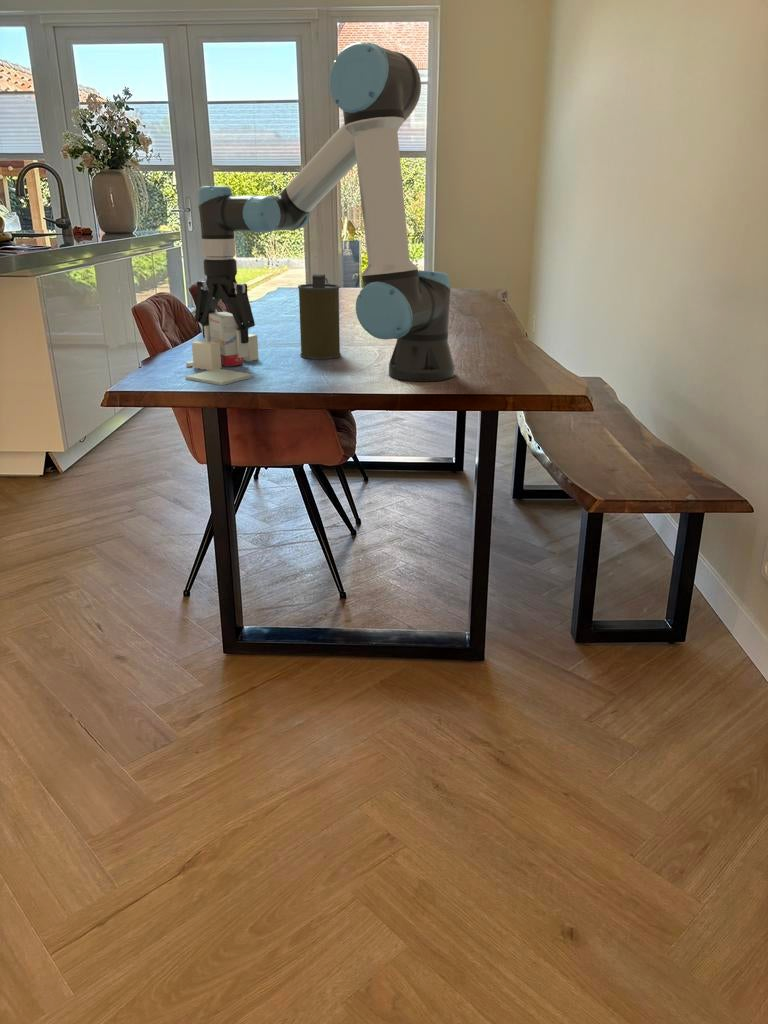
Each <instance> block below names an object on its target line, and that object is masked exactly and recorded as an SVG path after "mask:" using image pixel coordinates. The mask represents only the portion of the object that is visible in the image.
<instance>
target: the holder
mask: <svg viewBox="0 0 768 1024" xmlns="http://www.w3.org/2000/svg"><path fill="white" fill-rule="evenodd" d="M248 337H249V342H248V343H247V352H248V356H246V357H243V361H245V360H246V361H247V362H254V361H257V360H258V361H259V343H258V341H259V340H258V334H251V333H248ZM191 348H192V349H191V350H192V360H191V361H188V362H187V361H186V362H185V363H186V368H191V367H190V366H192V367H193V368H194V369H198V368H200V370H204V369H206V370H205V371H209V370H213V369H221V368H222V365H221V355H220V343H215V342H207V341H205V340H198V341H193V342H191ZM253 360H254V361H253Z"/></svg>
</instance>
